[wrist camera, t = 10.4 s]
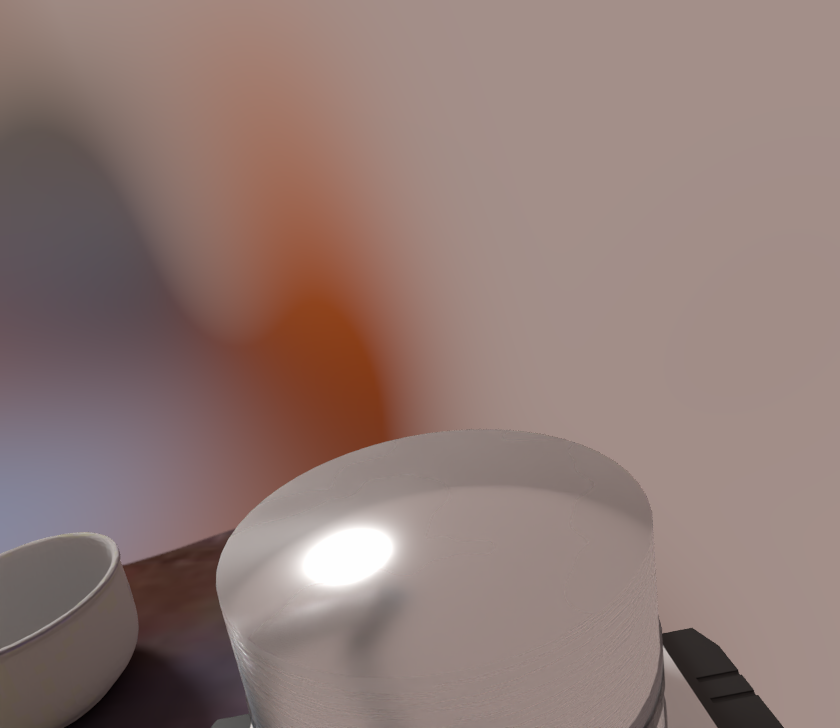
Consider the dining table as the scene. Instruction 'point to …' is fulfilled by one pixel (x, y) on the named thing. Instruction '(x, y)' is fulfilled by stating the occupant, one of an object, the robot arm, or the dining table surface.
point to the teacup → (62, 628)
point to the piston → (449, 590)
